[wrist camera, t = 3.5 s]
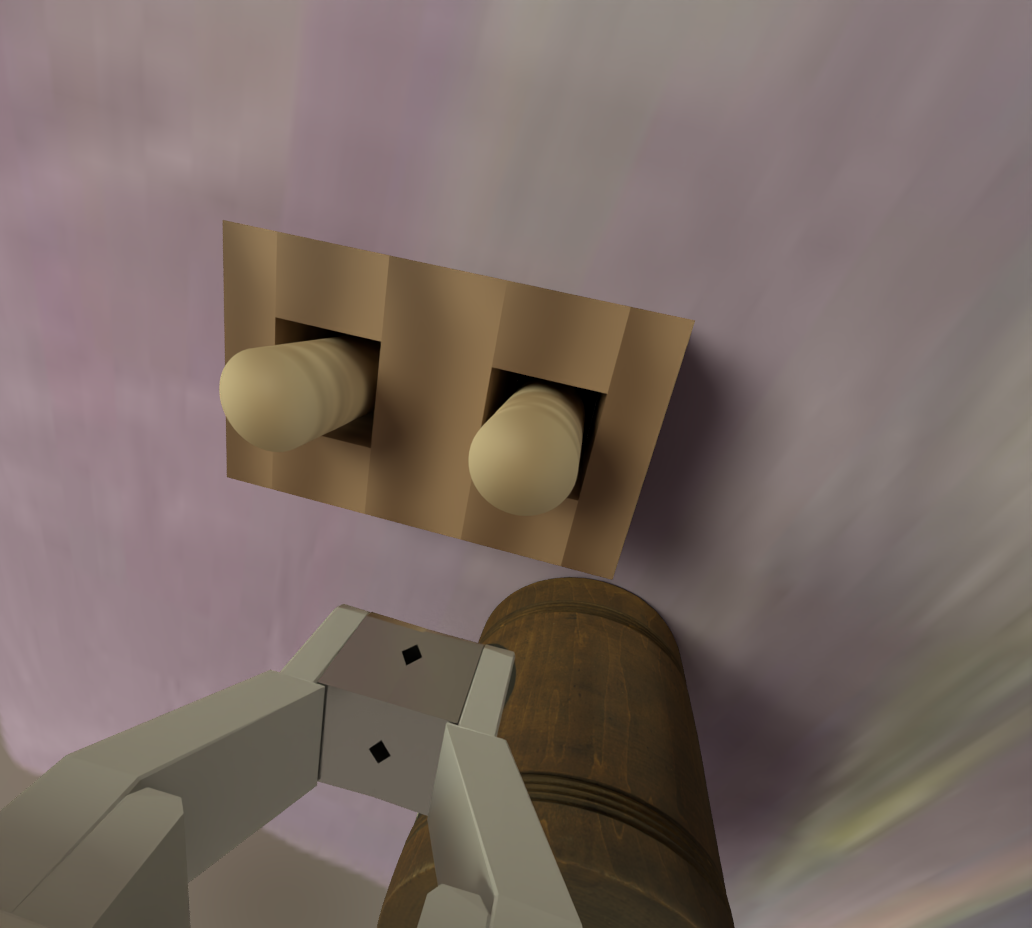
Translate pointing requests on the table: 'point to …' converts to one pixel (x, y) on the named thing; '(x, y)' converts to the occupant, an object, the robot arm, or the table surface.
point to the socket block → (452, 389)
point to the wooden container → (598, 762)
